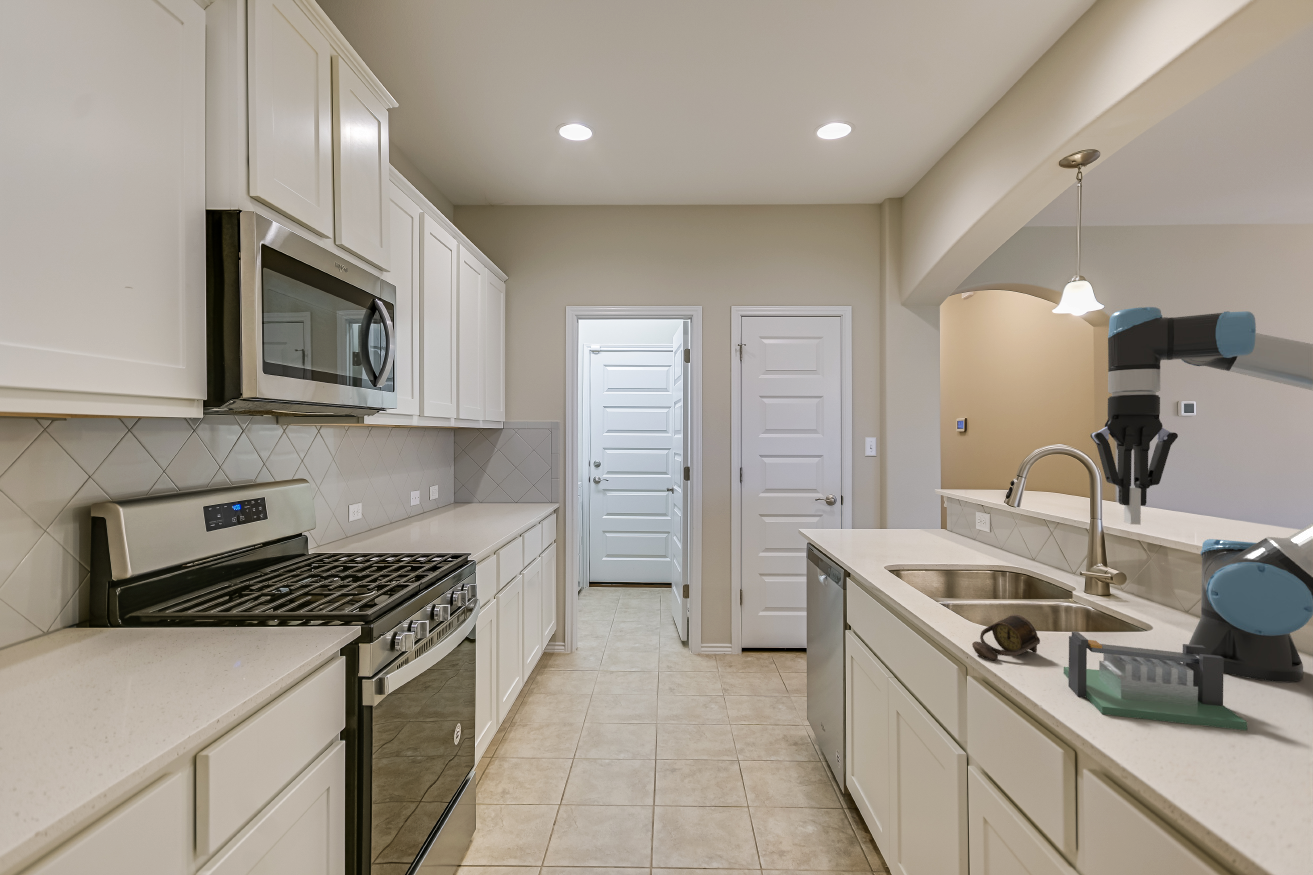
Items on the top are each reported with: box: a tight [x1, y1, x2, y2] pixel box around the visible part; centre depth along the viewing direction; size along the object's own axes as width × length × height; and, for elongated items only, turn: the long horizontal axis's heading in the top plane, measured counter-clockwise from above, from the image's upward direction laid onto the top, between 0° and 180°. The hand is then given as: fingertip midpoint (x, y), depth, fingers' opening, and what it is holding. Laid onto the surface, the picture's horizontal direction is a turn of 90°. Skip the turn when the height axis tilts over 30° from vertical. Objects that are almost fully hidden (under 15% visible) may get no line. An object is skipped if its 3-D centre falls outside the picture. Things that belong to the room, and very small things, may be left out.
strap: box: [1087, 639, 1199, 664], centre depth 97 cm, size 16×3×1 cm, turn 74°
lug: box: [1068, 631, 1089, 698], centre depth 100 cm, size 1×4×9 cm, turn 164°
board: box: [1063, 666, 1248, 731], centre depth 97 cm, size 18×16×1 cm
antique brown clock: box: [972, 614, 1041, 661], centre depth 117 cm, size 7×13×10 cm
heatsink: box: [1098, 653, 1198, 706], centre depth 97 cm, size 10×8×5 cm
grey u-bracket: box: [1181, 643, 1225, 706], centre depth 95 cm, size 3×6×7 cm, turn 164°
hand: (1132, 523), depth 110 cm, fingers closed
